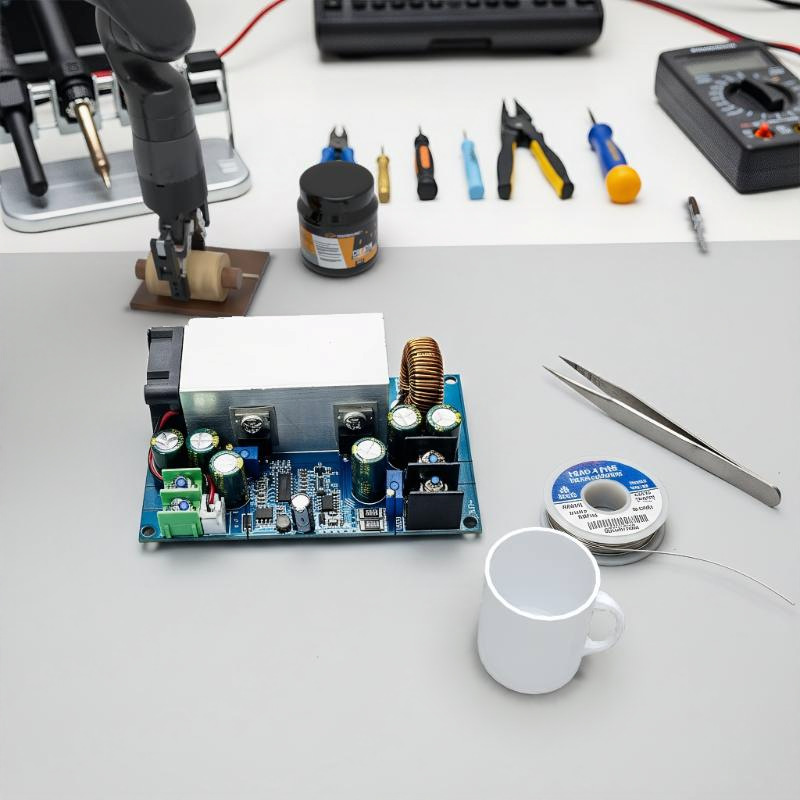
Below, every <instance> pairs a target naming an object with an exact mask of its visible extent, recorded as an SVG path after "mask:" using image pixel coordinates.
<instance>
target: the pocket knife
mask: <svg viewBox="0 0 800 800" xmlns="http://www.w3.org/2000/svg"><path fill="white" fill-rule="evenodd" d="M687 206H688V208H689V210H690V213H691V214H690V215H691V220H692V221H693V227H694V230H695V231H696V232H697V235H698V239H699V242H700V246H701V248H702V250H703V251H706V244H705V238H704V234H703V226H702V225H703V224H702V223H703V219H702V216H701V212H700V207H699V206H698V202H697V200H696V197H694V196H691V195H689V196H688V197H687Z"/></svg>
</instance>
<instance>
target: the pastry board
mask: <svg viewBox="0 0 800 800" xmlns="http://www.w3.org/2000/svg"><path fill="white" fill-rule="evenodd" d="M205 246H206V251H210V252H220V253H226V254H228V256H229V259H230V264H231V268H240V269H241V270H242V284H241V287H240V289H229V291H228V294H227V297H226V299H225V300H224V301H212V300H202V299H192V298H189V300H188V301H181V300H174V299H173V298H172V296H162V295H153V294H150V293H149V291H148V289H147V285H146V280H141V283H140V284H139V286H138V288H137V289H136V291H135V293H134V294H133V296H132V298H131V300H130V302H129V305H130V306H129V307H130V309H131V310H137V311H145V312H157V313H165V314H176V315H187V316H196V317H205V318H214V317H232V316H245V317H246V315H247V313H248V310H249V308H250V306H251V304H252V301H253V299H254V297H255V294H256V292H257V289H258V288H259V285H260V283H261V280H262V278H263V276H264V273H265V271H266V269H267V266H268V265H269V262H270V259H271V253H270V251H262V250H253V249H252V250H251V249H238V248H232V247H231V248H230V247H220V246H219V247H218V246H210V245H209V246H208V245H205ZM176 248H178V249H184V246H176Z"/></svg>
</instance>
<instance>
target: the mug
mask: <svg viewBox="0 0 800 800" xmlns="http://www.w3.org/2000/svg"><path fill="white" fill-rule="evenodd" d="M600 586H601V570H600V568H599V565H598V563H597V560H596V557H595V556H594V555H593V553H591V551H590V549H589V548H588V547H587V546H585V544H583V543H582V542H581V541H580V540H579V539H577V538H576V537H573V536H572V535H570V534H568V533H567V532H564V531H562V530H558V529H554V528H551V527H542V526H532V527H523V528H518V529H516V530H513V531H509V532H508V533H507V534H505V535H504V536H502V537H500V538H498V540H497V541H496V542H495V543H494V544H493V545H492V547H491V548H490V549H489V551H488V553H487V556H486V559H485V564H484V573H483V584H482V592H481V601H480V611H479V618H478V619H479V620H478V629H477V641H476V642H477V650H478V655H479V659H480V663H482V666H483V667H484V669H485V671H486V672H487V673H488V674H489V675H490V676H491V677H492V678H493V679H494V680H495V681H496V682H497V683H499V684H500V685H502V686H504V687H505V688H507V689H509V690H512V691H515V692H518V693H521V694H529V695H540V694H548V693H549V694H550V693H551V692H554V691H557V690H559V689H561V688H563V687H564V686H565V685H567V683H569V682H570V681H571V680H572V679H573V678H574V676H575V675H576V673H577V672H578V670H579V667H580V665H581V662H582V660H583V657H585V656H588V655H591V654H602V653H604V652H608V651H610V650H612V649H613V648H614V647H615V646H616V645H617V644H618V643H619V642H620V640H621V638H622V637H623V635H624V632H625V627H626V619H625V615H624V612H623V610H622V607H621V606H620V605H619V604H618V602H616V600H614V598H612V597H611V596H610V595H609V594H607V593H606V592H605V591H602V590H600ZM595 611H598V612H609V613H611V614H612V616H613V617H614V618H615V628H614V632H613V633H612V634H611V636H610V637H608V638H606V639H605V640H601V641H595V640H592V639H591V637H589V633H590V628H591V623H592V620H593V617H594V616H593V615H594V612H595Z"/></svg>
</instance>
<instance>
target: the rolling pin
mask: <svg viewBox="0 0 800 800" xmlns="http://www.w3.org/2000/svg"><path fill="white" fill-rule="evenodd" d="M176 250H181V251H182V250H183V249H178V248H176ZM177 259H178V264H179V265H180V260H179V258H177ZM186 271H187V277H188V283H189V289H190V294H191V296H190V298H192V299H202V300H212V301H224V300H225V299H226V297H227V294H228V291H229V289H240V287H241V284H242V270H241V269H240V268H231V264H230V259H229V256H228V254H226V253H220V252H210V251H199V250H191V255H190V257H188V258H187V267H186ZM134 275H135V278H136V279H137V280H140V281H143V280H146V285H147V289H148V291H149V293H150V294H153V295H162V296H171V291H170V286H169V281H160V280H158V277H157V273H156V269H155V265H154V260H153V256H152V252H151V249H150V250H149V253H148V255H147V258H138V259H137V260H136V262H135V265H134Z"/></svg>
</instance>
